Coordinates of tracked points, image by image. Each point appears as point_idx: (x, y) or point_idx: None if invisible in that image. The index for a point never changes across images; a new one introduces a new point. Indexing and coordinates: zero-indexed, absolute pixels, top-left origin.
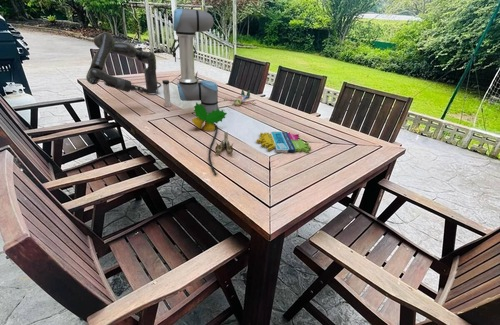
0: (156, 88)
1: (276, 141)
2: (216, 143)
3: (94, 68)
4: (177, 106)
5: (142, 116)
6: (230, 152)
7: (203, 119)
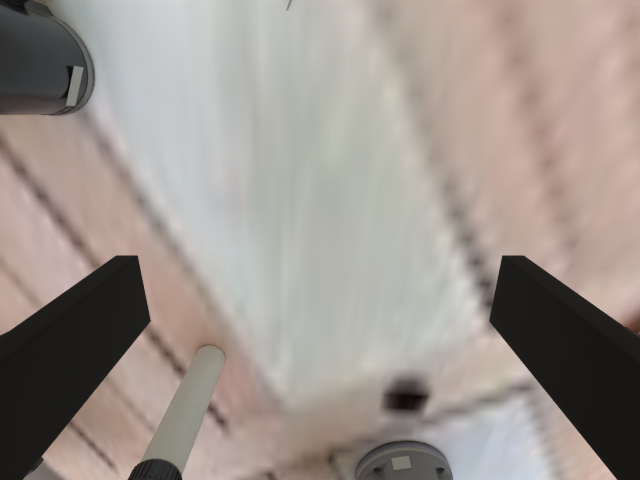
0: (59, 92)
1: None
2: None
3: None
4: (261, 371)
5: (124, 472)
6: None
7: None
